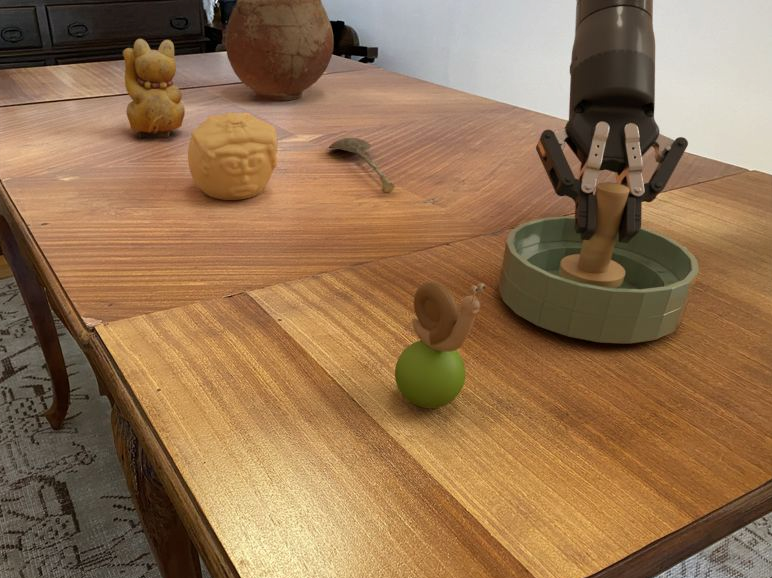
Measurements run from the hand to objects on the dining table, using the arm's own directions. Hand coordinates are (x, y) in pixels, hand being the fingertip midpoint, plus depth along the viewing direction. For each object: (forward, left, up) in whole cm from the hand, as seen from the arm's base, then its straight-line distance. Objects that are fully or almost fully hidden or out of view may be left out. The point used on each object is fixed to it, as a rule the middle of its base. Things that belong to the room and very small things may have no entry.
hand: (607, 237), depth 65 cm
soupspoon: (+22, -43, -8) cm, 49 cm away
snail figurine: (+17, +16, -8) cm, 25 cm away
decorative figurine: (+57, -58, -8) cm, 82 cm away
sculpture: (+40, -31, -8) cm, 51 cm away
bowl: (0, -2, -8) cm, 8 cm away
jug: (+39, -89, -8) cm, 97 cm away
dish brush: (0, -2, -7) cm, 7 cm away
